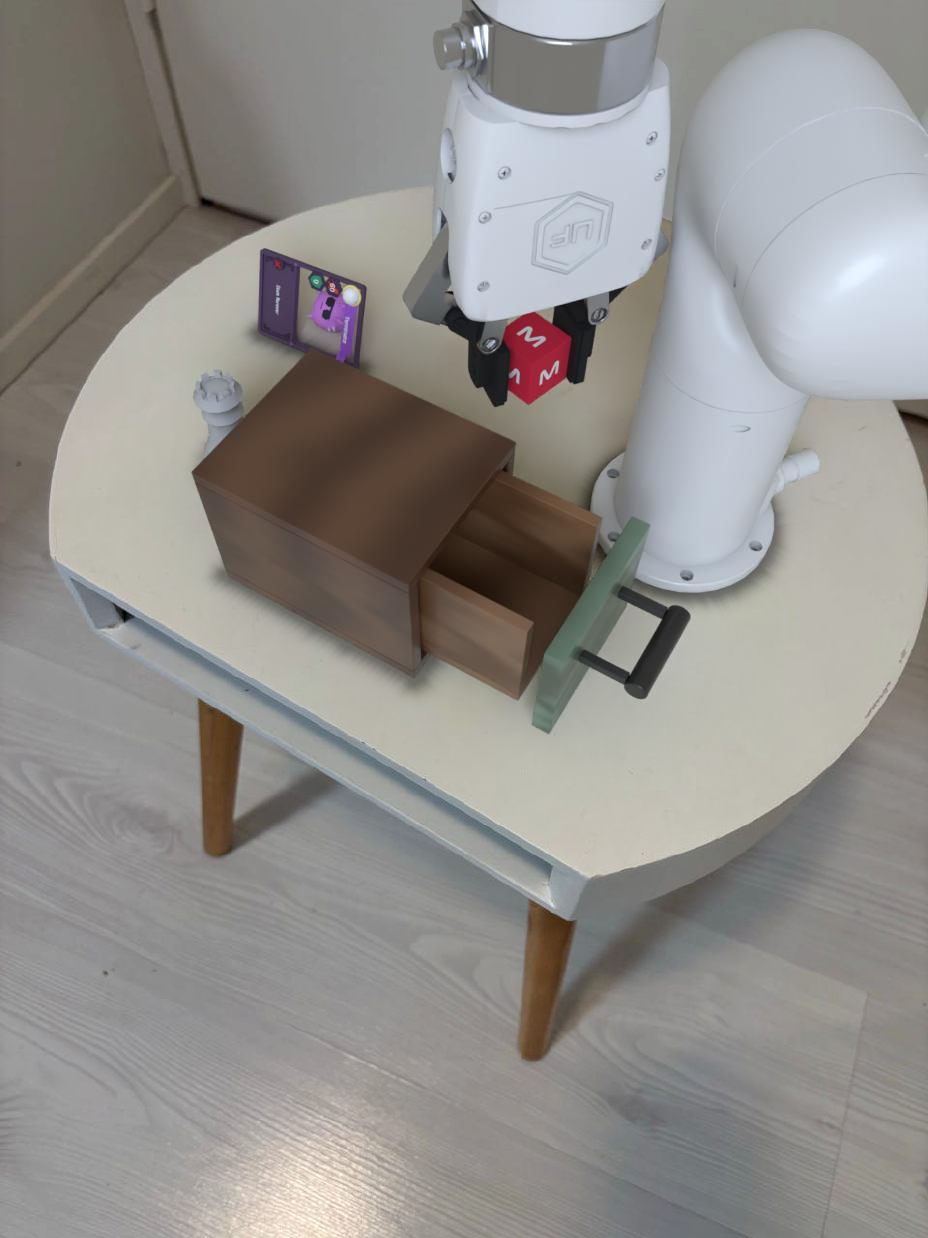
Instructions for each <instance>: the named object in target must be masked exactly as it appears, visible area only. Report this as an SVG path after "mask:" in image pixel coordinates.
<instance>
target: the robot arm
mask: <svg viewBox="0 0 928 1238" xmlns="http://www.w3.org/2000/svg"><path fill="white" fill-rule="evenodd" d="M666 1H667V0H461V16H460V18H459V21H457V22H453V23H452V24H451V26H450V27H447V28H442V29H438V30H435V31H434V33H433V38H432V39H433V41H432V43H433V44H432V45H433V54H434V58H435V61H436V64H437V66H438V69H440V70H441V71H446V70H451V69H453V72H452V74H451V78H450V83H449V87H448V91H447V95H446V100H445V104H444V107H443V115H442V120H441V125H440V130H439V131H440V132H439V139H438V144H437V153H436V162H435V171H434V186H433V197H432V198H433V199H432V217H431V218H432V225H431V229H432V230H431V232H432V233H431V240H432V245H431V246H430V248H429V250H428V251H427V253H426V254H425V256H424V257H423V259H422V261H421V262H420V264H419V265H418V268H417V269H416V271H415V273H414V274H413V276H412V277H411V280H410V281H409V283H408V284H407V286H406V288H405V289H404V291H403V293H402V296H401V297H402V301H403V303H404V304H405V306H406V308H407V310H408V312H409V314H410V315H411V317H412V319H415V320H418V321H422V322H425V323H429V324H432V325H437V326H441V325H442V326H444V327H447V329H448V330H449V331H450V332H452V333H454V334H456V335H457V336H458V337H461V338H463V339H464V340H466V341H467V342H468V344H467V345H468V346H467V348H468V349H467V370H468V375H469V379H470V380H471V382H472V384H473V385H474V387H475V388H476V389H481V388H482V389H483V390H484V392H485V395H487V398H488V399H489V401H490V403H491V405H492V406H493V408H498V407H502V406H504V405H505V403H507V402H508V393H509V390H508V382H509V369H510V351H509V348H508V347H507V345H506V343H505V341H504V340H503V336H504V332H505V328H506V326H507V325H508V321H509V319H511V318H515V317H520V316H522V315H523V314H527V313H531V312H539V311H542V310H546V309H550V308H553V315H552V322H551V323H552V324H553V325H554V326H556V327H557V328H559V329H560V330H561V331H563V332H564V333H566V334H567V335H569V336H570V337H571V344H570V351H569V358H568V365H567V372H566V379H567V381H568V382H569V384H573V385H574V386H575V385H578V384H582V383H584V382H585V378H586V371H587V366H588V359H589V358H590V357H591V356H592V354H593V348H594V344H595V343H594V342H595V336H596V329H597V325H600V324H602V323H604V322H605V321H606V319H608V317H609V315H610V311H611V310H610V309H611V308H610V305H611V303H612V302H613V301H615V299H617V297H618V296H619V295H621V293H622V292H624V290H625V289H626V288H627V287H628V286H629V285H632V284H633V283H635V282H637V281H638V280H640V279H641V278H642V277H644V276H645V275H646V274H647V273H648V271H649V270H650V268H651V266H652V264H653V262H655V261H656V260H657V259H658V258H660V257H661V256H662V255H664V254H665V253H666V252H667V250H669V251H668V261H667V267H666V272H665V273H666V274H665V279H664V283H663V289H662V294H661V298H660V304H659V308H658V313H657V316H656V321H655V325H654V329H653V332H652V336H651V339H650V340H651V341H650V345H649V348H648V353H647V357H646V361H645V365H644V370H643V374H642V378H641V382H640V386H639V391H638V395H637V399H636V404H635V407H634V413H633V416H632V420H631V425H630V429H629V432H628V433H629V434H628V438H627V441H626V446H625V450H624V451H623V452H621V453H619V455H617V456H616V457H615V458H613V459H611V461H609V462H608V464H607V465H606V466H605V467H604V468H603V469H602V471H601V472H600V473H599V475H598V477H597V479H596V481H595V483H594V485H593V486H594V487H593V489H592V492H591V493H592V494H591V498H590V505H589V511H590V512H592V513H594V514H596V515H598V516H600V517H602V518H603V520H602V524H601V529H600V533H599V537H598V542H597V543H598V544H599V545H600V547H601V549H602V550H603V552H604V553H605V554H606V555H607V554H608V553H609V551H610V550H611V548H612V547H613V545H614V543H615V542H616V540H617V539H618V537H619V536H620V534H621V532H622V531H623V529H624V528H625V526H626V525H627V523H628V521H629V520H630V518H631V517H632V516H633V517H635V518H637V519H640V520H642V521H644V522H646V523H648V524H650V529H649V532H648V535H647V539H646V542H645V545H644V549H643V552H642V555H641V559H640V562H639V565H638V569H637V572H636V576H635V579H637V580H639V582H640V581H641V582H642V583H644V584H646V585H650V586H652V587H656V588H657V589H661V590H666V591H672V592H676V593H693V594H694V593H695V594H697V593H707V592H714V591H717V590H720V589H724V588H727V587H731V586H732V585H734V584H736V583H737V582H739V581H741V580H743V579H746V578H747V577H748V575H749V574H751V573H752V572H753V571H754V570H756V569H757V567H759V565H760V563H761V562H762V560H763V559H764V557H765V556H766V554H767V552H768V550H769V548H770V546H771V544H772V540H773V537H774V533H775V512H774V509H773V504H772V499H773V497H774V496H776V495H779V494H781V493H782V492H783V490H785V486H786V485H788V484H791V483H796V482H798V481H801V480H804V479H805V478H808V477H811V476H813V475H815V474H818V473H819V472H820V470H821V461H820V457H819V455H818V454H817V452H816V451H815V450H814V449H813V448H811V447H805V448H802V449H799V450H797V451H794V452H792V453H789V454H787V455H786V453H787V451H788V449H789V446H790V444H791V442H792V440H793V438H794V436H795V433H796V431H797V429H798V427H799V424H800V422H801V420H802V418H803V416H804V413H805V411H806V409H807V407H808V404H809V403H810V400H811V398H812V397H813V398H814V397H815V398H820V399H826V400H832V401H833V400H834V401H846V402H848V401H849V402H870V401H872V402H874V401H875V402H876V401H877V402H878V401H911V400H912V401H913V400H914V401H915V400H928V105H926V106H925V107H924V108H923V110H922V111H921V112H920V113H919V115H917V116H916V114H915V112H914V111H913V109H912V107H910V105H909V103H908V102H907V100H906V99H905V97H904V96H903V94H902V92H901V90H900V89H899V88H898V86H897V84H896V83H895V81H893V79H892V78H891V76H890V75H889V74H888V72H887V71H886V70H885V69H884V67H883V66H882V65H881V64H880V63H879V62H878V61H877V60H876V59H875V58H874V57H873V56H872V55H871V54H870V53H869V52H868V51H867V50H865V49H864V48H863V47H861V46H860V45H859V44H858V43H856V42H854V41H853V40H851V39H850V38H848V37H846V36H844V35H841V34H838V33H835V32H833V31H831V30H826V29H820V28H815V27H814V28H811V27H810V28H807V27H806V28H791V29H784V30H780V31H778V32H774V33H772V34H768V35H766V36H764V37H762V38H759V39H757V40H755V41H753V42H752V43H750V44H749V45H746V47H744V48H742V49H741V50H740V51H738V52H737V53H736V54H735V55H734V56H733V57H731V58H730V59H729V60H728V61H727V62H726V63H725V64H724V65H723V66H722V67H721V68H720V69H719V70H718V71H717V72H716V74H715V75H714V77H712V79H711V80H710V82H709V83H708V84H707V86H706V87H705V89H704V90H703V92H702V93H701V95H700V97H699V99H698V100H697V103H696V105H695V106H694V109H693V110H692V112H691V115H690V118H689V121H688V123H687V126H686V128H685V131H684V134H683V137H682V142H681V146H680V150H679V155H678V161H677V166H676V174H675V182H674V183H675V184H674V192H673V193H674V194H673V204H672V217H671V229H670V242H669V240H668V238H667V236H666V234H665V232H664V230H663V228H662V222H663V214H664V207H665V202H666V200H665V199H666V193H667V183H668V175H669V166H670V151H671V120H672V119H671V117H672V115H671V114H672V113H671V112H672V111H671V104H672V103H671V79H670V78H671V77H670V70H669V67H668V66H667V64H666V63H665V62H664V61H663V60H662V59H661V58H660V57H659V56H657V50H658V45H659V39H660V34H661V29H662V23H663V18H664V12H665V7H666ZM450 287H451V289H452V290H449V288H450ZM448 290H449V291H448Z"/></svg>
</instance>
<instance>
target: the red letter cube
mask: <svg viewBox="0 0 928 1238" xmlns="http://www.w3.org/2000/svg"><path fill="white" fill-rule="evenodd" d="M503 340H504V341H505V343H506V345H507V347H508V348H509V351H510V369H509V382H508V392H510V393H511V394H512V395H514V396H515V397H517V398H518V399H519V400H520V401H522V402H523V403H524V404H525V405H527V406H530V405H531V404H533V403H534V402H535V401H537V400H538V399H539V398H541V397H542V396H544V395H545V394H547V393H548V392H549V391H551V390H552V389H553V388H555V387H556V386H557V385H559V384H560V383H562V382H563V381H564V380H566V379H567V378H566V372H567V365H568V358H569V351H570V344H571V337H570V336H569V335H567V334H566V333H564V332H563V331H561V330H560V329H559V328H557V327H556V326H554V325H553V324H552V322H550V321H548V320H547V319H546V318H544V317H543V316H542V315H540V314H539V313H538V312H537V311H535V312H531V313H527V314H523V315H520V316H518V317H517V318H516V319H515V320H513V321H512V322H510V323H509V324H507V325H506V328H505V332H504V336H503Z"/></svg>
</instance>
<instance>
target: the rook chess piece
mask: <svg viewBox="0 0 928 1238" xmlns="http://www.w3.org/2000/svg"><path fill="white" fill-rule="evenodd" d="M200 379H201V381H200V380H196V381H195V387H194V390H193V395H192V400H193V402H194V406H196V407H197V408H198V409H200V410H201V413H200V415H201V417H202V419H203V420H204V421H205V422H206V423H207V430H208V436H207V438H206V441H205V443H204V449H203V459H204V458H205V457H206V456H207V455H208V454H209V453H210V452H211V451H212V450H213V449H214V448H215V447H216V446H217V445H218V444H219V443H220V442H221V441H222V440H223V439H224V438H225V437H226V436H227V435H228V434H229V433H230V432H231V431H232V429H233V428H234V427H235V426H236V425H237V424H238V423H239V422H240V421H241V420H242V419H243V418H244V415H243V414H244V409H245V407H244V404H243V402H242V401H241V400H242V399H243V394H244V390H243V387H242V385H241V384H240V383H239V381H237V380H236V379H235V378H234V377H233V375H232V374H231V373H230V372H227V373H225V374H224V375H223V371H222V369H213V375H210V374H208V371H205V372H204V373H201V375H200Z"/></svg>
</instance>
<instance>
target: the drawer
mask: <svg viewBox="0 0 928 1238" xmlns="http://www.w3.org/2000/svg"><path fill="white" fill-rule="evenodd" d="M602 520H603V518H602V517H600V516H598V515H596V514H594V513H592V512H590V510H587V509H585V508H583V507H581V506H579V505H577V504H574V503H572V502H570V501H568V500H567V499H564V498H561V497H559V496H558V495H556V494H553V493H551V492H549V491H547V490H545V489H543V488H540V487H539V486H536V485H534V484H532V483H530V482H527V481H526V480H524V479H521V478H519V477H517V476H515V475H514V474H513V475H511V474H509V473H507V472H504V471H502V470H501V471H500V473H499V474H498V475H497V477H496V478H495V479H494V481H493V482H492V483H491V485H490V486H489V487H488V489H487V490H486V491H485V493H484V494H483V495H482V497H481V498H480V499H479V501H478V502H477V503H476V505H475V506H474V507H473V509H472V510H471V511H470V513H469V514H468V515H467V517H466V518H465V519H464V521H463V522H462V523H461V525H460V526H459V527H458V529H457V530H456V531H455V533H454V534H453V535H452V537H451V538H450V539H449V541H448V542H447V543H446V545H445V546H444V547H443V549H442V550H441V551H440V553H439V554H438V555H437V557H436V558H435V559H434V561H433V562H432V563H431V565H430V566H429V567H428V569H427V570H426V571H425V573H424V574H423V575H422V577H421V578H420V579H419V581H418V582H417V585H418V605H419V625H420V645H421V649H422V650H424V651H426V652H427V653H429V654H431V655H430V656H433V657H435V658H437V659H439V660H441V661H443V662H444V663H446V664H448V665H450V666H451V667H453V668H455V669H457V670H459V671H461V672H463V673H465V674H466V675H468V676H470V677H472V678H474V679H476V680H478V681H480V682H482V683H483V684H485V685H487V686H489V687H491V688H493V689H494V690H497V691H498V692H500V693H502V694H504V695H506V696H507V697H510V698H511V699H513V700H515V701H517V702H518V701H520V699H521V697H522V696H523V694H524V693H525V691H526V689H527V687H528V686H529V685H530V683H531V681H532V680H533V678H534V677H535V675H536V674H537V672H538V671H539V669H540V668H541V670H540V675H539V681H538V687H537V693H536V698H535V703H534V709H533V714H532V720H531V726H533V727H535V729H538V730H540V731H542V732H543V733H545V734H547V735H549V734H550V733H551V732H552V730H553V728H554V727H555V725H556V723H557V721H559V719H560V717H561V715H562V714H563V712H564V710H565V709H566V707H567V706H568V704H569V702H570V701H571V699H572V697H573V695H574V694H575V692H576V691H577V689H578V687H579V685H580V684H581V682H582V680H583V679H584V677H585V676H586V674H587V672H588V670H589V669H592V670H593V671H596V672H598V673H600V674H602V675H603V676H605V677H608V678H609V679H612V680H613V681H615V682H618V683H619V684H621V685H623V688H624V690H625V692H626V693H627V694H628V695H629V696H631V697H632V698H635V699H638V700H645V699H646V698H647V697H648V696H649V694H650V693H651V691H652V689H653V687H654V685H655V684H656V682H657V679H658V678H659V677H660V674H661V673H662V671H663V669H664V667H665V665H666V664H667V662H668V660H669V658H670V656H671V655H672V653H673V651H674V650H675V648H676V646H677V645H678V642H679V640H680V639H681V637H682V635H683V634H684V631H685V630H686V628H687V626H688V624H689V622H690V621H691V616H692V615H691V613H690V612H689V610H687V608H685V607H683V606H681V605H678V604H671V605H670V606H669V607H668V606H666V605H664V604H662V603H660V602H658V601H656V600H653V599H652V598H650V597H649V596H648V597H647V596H645V594H644V595H643V594H641V593H640V592H637V591H635V590H633V589H632V588H633V586H634V583H635V579H636V578H635V576H636V572H637V569H638V565H639V562H640V559H641V555H642V552H643V549H644V545H645V542H646V539H647V535H648V532H649V529H650V524H648V523H646V522H644V521H642V520H640V519H637V518H635V517H633V516H632V517H631V518H630V520H629V521H628V523H627V525H626V526H625V528H624V529H623V531H622V532H621V534H620V536H619V537H618V539H617V540H616V542H615V543H614V545H613V547H612V548H611V550H610V551H609V553H608V554H606V556H605V557H604V559H603V560H602V562H601V564H600V565H599V567H598V569H596V571H595V573H594V575H593V576H592V578H591V579H590V576H591V573H592V567H593V563H594V560H595V559H594V558H595V555H596V550H597V545H598V543H599V542H598V537H599V533H600V529H601V524H602ZM589 580H590V581H589ZM628 604H629V605H632V606H633V607H635V608H638V609H640V610H641V611H643V612H646V613H648V614H650V615H651V616H654V617H656V618H658V619H660V622H659V624H658V625H657V627H656V629H655V631H654V632H653V634H652V636H651V637H650V639H649V640H648V643H647V645H646V646H645V648H644V649H643V651H642V653H641V655H640V656H639V658H638V660H637V662H636V663H635V665H634V666H633V669H632V670H631V672H629V671H628V670H626V669H624V668H621V667H620V666H618V665H616V664H614V663H612V662H610V661H608V660H606V659H604V658H603V657H600V656H598V654H599V652H600V651H601V649H602V648H603V646H604V644H605V642H606V641H607V639H608V638H609V636H610V634H611V633H612V632H613V629H614V628H615V626H616V624H617V623H618V621H619V619H620V618H621V616H622V615H623V613H624V611H625V609H626V608H627V605H628Z"/></svg>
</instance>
